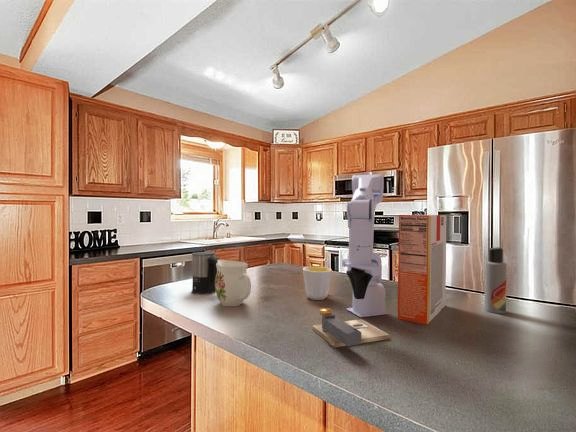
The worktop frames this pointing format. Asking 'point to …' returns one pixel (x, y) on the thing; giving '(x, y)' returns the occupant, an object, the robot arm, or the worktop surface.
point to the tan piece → (366, 329)
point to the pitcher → (232, 282)
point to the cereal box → (421, 267)
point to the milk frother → (204, 272)
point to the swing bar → (339, 328)
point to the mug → (317, 282)
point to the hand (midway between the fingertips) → (359, 298)
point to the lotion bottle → (495, 282)
